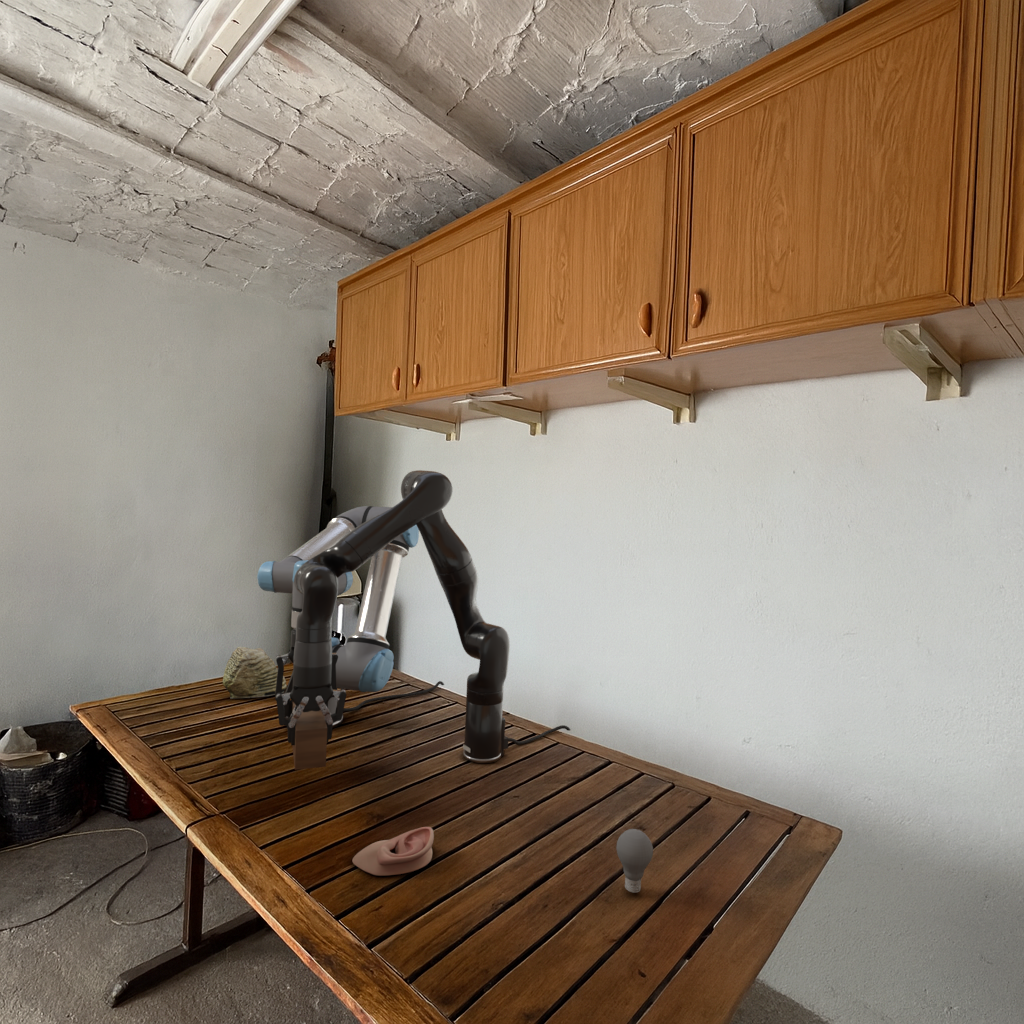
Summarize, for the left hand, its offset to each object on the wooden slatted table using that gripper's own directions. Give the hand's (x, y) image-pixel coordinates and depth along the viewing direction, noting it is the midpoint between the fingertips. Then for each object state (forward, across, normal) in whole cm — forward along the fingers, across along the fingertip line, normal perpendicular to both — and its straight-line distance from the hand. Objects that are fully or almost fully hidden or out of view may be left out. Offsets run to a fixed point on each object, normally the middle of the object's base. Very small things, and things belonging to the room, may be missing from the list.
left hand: (304, 728), depth 145 cm
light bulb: (+10, +49, -62) cm, 79 cm away
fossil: (+10, -11, +61) cm, 63 cm away
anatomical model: (+10, +13, -41) cm, 44 cm away
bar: (+1, 0, -8) cm, 8 cm away
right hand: (-3, 0, -16) cm, 17 cm away
